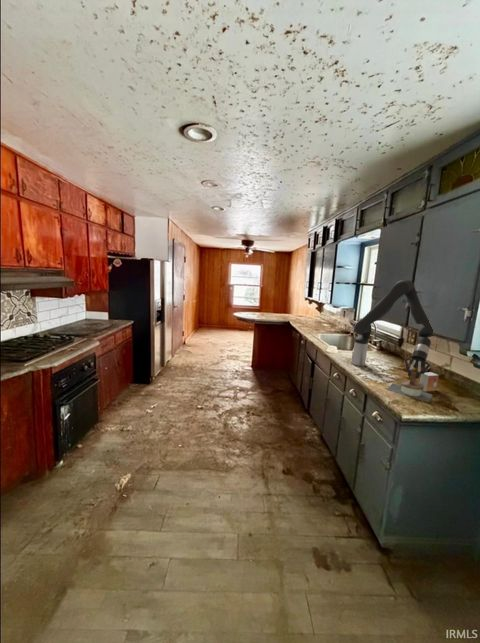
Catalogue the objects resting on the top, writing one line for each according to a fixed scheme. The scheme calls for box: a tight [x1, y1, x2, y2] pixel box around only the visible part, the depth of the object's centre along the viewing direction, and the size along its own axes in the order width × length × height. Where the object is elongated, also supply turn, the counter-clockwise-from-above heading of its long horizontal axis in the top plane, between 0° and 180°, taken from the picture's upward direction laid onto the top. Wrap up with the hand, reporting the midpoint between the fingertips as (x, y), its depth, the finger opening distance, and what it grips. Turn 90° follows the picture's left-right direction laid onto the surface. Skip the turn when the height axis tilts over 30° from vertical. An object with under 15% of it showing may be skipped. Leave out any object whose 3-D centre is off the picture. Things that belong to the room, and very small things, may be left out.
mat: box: [386, 383, 433, 403], centre depth 174 cm, size 22×14×1 cm, turn 48°
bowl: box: [401, 385, 423, 397], centre depth 172 cm, size 10×10×5 cm
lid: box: [400, 371, 424, 391], centre depth 171 cm, size 12×12×8 cm
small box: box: [419, 371, 440, 392], centre depth 179 cm, size 8×6×10 cm
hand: (412, 377), depth 169 cm, fingers open, 3 cm apart
